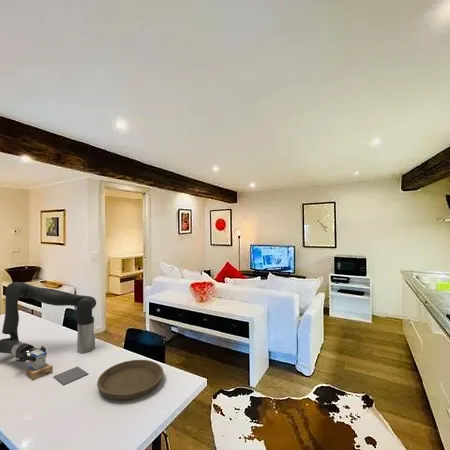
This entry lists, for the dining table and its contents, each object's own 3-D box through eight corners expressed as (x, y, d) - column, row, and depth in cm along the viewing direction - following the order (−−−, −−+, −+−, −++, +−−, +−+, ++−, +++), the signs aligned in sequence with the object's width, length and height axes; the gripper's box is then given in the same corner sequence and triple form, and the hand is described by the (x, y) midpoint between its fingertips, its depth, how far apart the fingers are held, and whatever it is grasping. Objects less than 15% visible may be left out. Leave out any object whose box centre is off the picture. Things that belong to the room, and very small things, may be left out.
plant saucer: (175, 377, 135) (175, 369, 135) (126, 413, 108) (126, 402, 109) (135, 362, 151) (135, 354, 151) (83, 390, 124) (83, 380, 124)
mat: (77, 367, 144) (77, 366, 144) (88, 374, 137) (88, 373, 137) (53, 377, 134) (53, 376, 134) (63, 385, 127) (63, 384, 127)
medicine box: (28, 368, 139) (29, 352, 139) (38, 364, 143) (38, 348, 143) (36, 372, 136) (36, 355, 136) (45, 368, 139) (46, 352, 140)
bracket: (46, 367, 144) (46, 361, 144) (52, 372, 139) (52, 365, 139) (26, 374, 136) (26, 368, 136) (32, 380, 131) (32, 373, 131)
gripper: (7, 348, 139) (25, 356, 132) (36, 338, 152) (54, 344, 145) (7, 362, 139) (25, 370, 132) (36, 351, 152) (54, 358, 145)
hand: (40, 357), depth 138 cm, fingers closed on medicine box, 4 cm apart
